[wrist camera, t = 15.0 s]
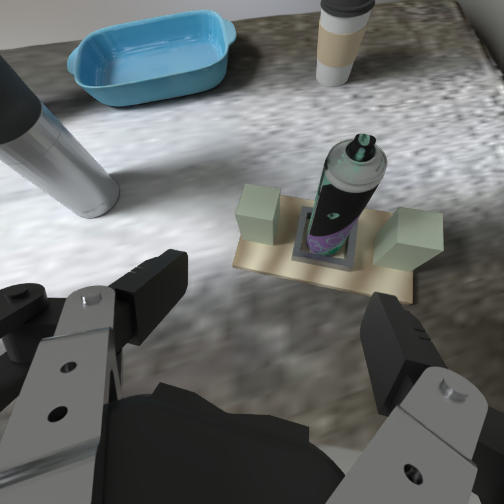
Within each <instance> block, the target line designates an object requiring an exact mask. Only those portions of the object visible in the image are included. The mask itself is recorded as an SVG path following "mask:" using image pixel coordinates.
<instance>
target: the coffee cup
mask: <svg viewBox="0 0 504 504" xmlns="http://www.w3.org/2000/svg"><path fill="white" fill-rule="evenodd" d="M374 5H375V0H321V18H320V21H319V34H318V48H317V58H318V59H317V72H316V79H317V81H318V82H319V83H320V84H322V85H324V86H328V87H337V86H341V85H343V84H344V83H346V82H347V80H348V78H349V75H350V72H351V69H352V66H353V63H354V61H355V59H356V56H357V53H358V51H359V48H360V45H361V42H362V39H363V36H364V33H365V30H366V27H367V24H368V18H369V16H370V13H371V10H372V8H373V7H374Z"/></svg>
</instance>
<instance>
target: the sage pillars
mask: <svg viewBox="0 0 504 504" xmlns="http://www.w3.org/2000/svg"><path fill="white" fill-rule="evenodd" d="M235 215H236V219H237V222H238V226H239V229H240V233H241V236H242V240H246V241H251V242H256V243H261V244H266V245H272V246H273V244H274V240H275V235H276V231H277V227H278V223H279V219H280V189H278V188H272V187H265V186H259V185H252V184H246V183H245V184H244V188H243V191H242V194H241V197H240V200H239V204H238V207H237V210H236V213H235ZM443 251H444V247H443V214H442V213H435V212H428V211H422V210H415V209H409V208H402V207H398V209H397V210H396V211H395V212H394V213H393V215H392V216H391V217H390V218H389V219H388V221H387V222H386V223H385V224H384V225H383V227H382V228H381V229H380V230H379V231H378V233H377V234H376V235H375V246H374V258H373V265H375V266H380V267H386V268H391V269H396V270H401V271H406V272H410V271H412V270H414V269H415V268H417V267H418V266H420V265H422V264H423V263H425V262H426V261H428V260H430V259H431V258H433V257H434V256H436V255H438V254H439V253H441V252H443Z"/></svg>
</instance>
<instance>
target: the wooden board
mask: <svg viewBox="0 0 504 504" xmlns="http://www.w3.org/2000/svg"><path fill="white" fill-rule="evenodd" d="M314 203H315V200H308V199H302V198H296V197H289V196H283V195H280V219H279V223H278V227H277V231H276V235H275V240H274V244H273V246H272V245H266V244H261V243H256V242H251V241H246V240H242V236H240V240H239V243H238V246H237V250H236V253H235V257H234V260H233V263H232V266H233V268H237V269H242V270H247V271H251V272H256V273H261V274H265V275H270V276H275V277H279V278H284V279H289V280H293V281H298V282H303V283H307V284H312V285H317V286H322V287H326V288H331V289H336V290H340V291H345V292H350V293H354V294H359V295H364V296H368V297H371V296H372V294H373V293H374V292H380V293H385V294H390V295H395V296H396V297H397V298H398V300H399V302H400V303H401V304H406V305H410V304H412V301H413V270H412V271H410V272H406V271H401V270H396V269H391V268H386V267H380V266H375V265H373V258H374V246H375V235H376V234H377V233H378V231H379V230H380V229H381V228H382V227H383V225H384V224H385V223H386V222H387V221H388V219H389V218H390V217H391V216H392V215H393V213H391V212H384V211H378V210H372V209H365V208H364V210H363V212H362V213H361V215H360V217H359V218H358V228H357V237H356V246H355V255H354V264H353V268H352V269H351V271H350V272H347V271H342V270H337V269H332V268H327V267H322V266H317V265H312V264H307V263H302V262H297V261H292V260H291V258H292V253H293V248H294V243H295V238H296V233H297V228H298V223H299V218H300V214H301V209H302V206H307V207H314ZM309 223H310V219H306V222H305V227H304V232H303V238H302V243H301V248H300V251H304V252H310V250H309V249H308V247H307V245H306V235H307V231H308V227H309ZM345 244H346V240H345V242H344V243H343V245H342V247H341V248H340V250H339V251H338V252H337V253H336V254H335V255H333V256H331V257H335V258H341V259H344V252H345ZM310 253H312V252H310Z"/></svg>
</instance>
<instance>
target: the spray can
mask: <svg viewBox="0 0 504 504" xmlns="http://www.w3.org/2000/svg"><path fill="white" fill-rule="evenodd" d="M375 142H376V139H375V137H373V136H371V135H366V134H357V135H356V136H355V138H354V139H347V140H343V141H341V142H339V143H337V144H336V145H334V146H333V147H332V148H331V150H330V151H329V153H328V156H327V158H326V160H325V164H324V168H323V172H322V176H321V180H320V183H319V187H318V191H317V195H316V199H315V203H314V207H313V211H312V215H311V219H310V223H309V227H308V231H307V235H306V245H307V247H308V249H309V250H310V252H312V253H315V254H320V255H325V256H330V257H331V256H333V255H335V254H336V253H337V252H338V251H339V250H340V248H341V247H342V245H343V243H344V242H345V240H346V238H347V237H348V235H349V233H350V232H351V230H352V228H353V227H354V225H355V223H356V222H357V220H358V218H359V217H360V215H361V213H362V212H363V210H364V208H365V207H366V205H367V203H368V202H369V200H370V198H371V197H372V195H373V193H374V192H375V190H376V188H377V186H378V185H379V183H380V181H381V180H382V178H383V176H384V173H385V171H386V168H387V158H386V155H385V153H384V152H383V151H382V149H381V148H380V147H378V146H377V145H376V144H375Z"/></svg>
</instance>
